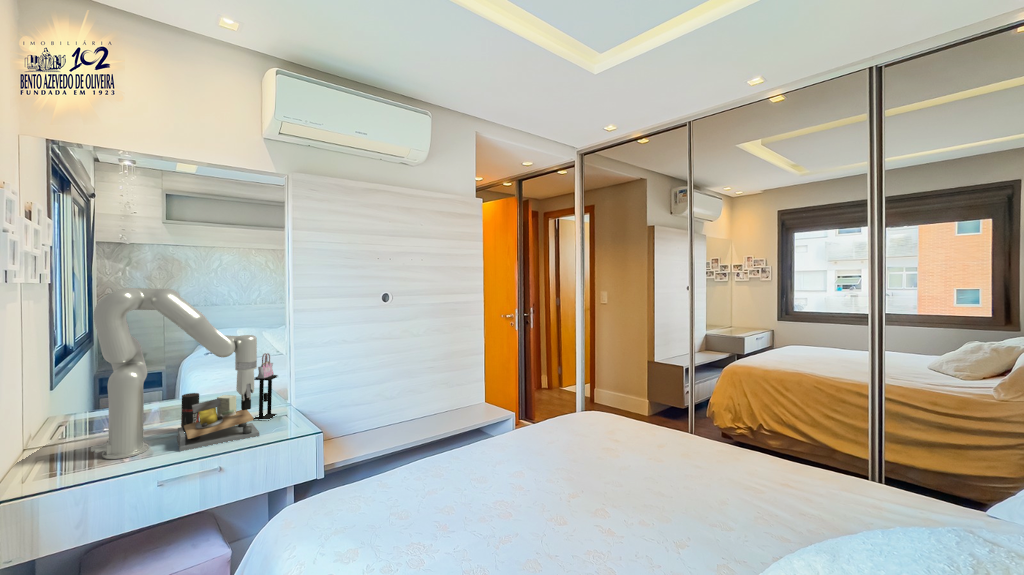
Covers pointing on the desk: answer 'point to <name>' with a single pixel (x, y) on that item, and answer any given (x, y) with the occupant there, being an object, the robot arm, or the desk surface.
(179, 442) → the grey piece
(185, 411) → the deodorant
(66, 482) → the desk surface
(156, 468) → the desk surface
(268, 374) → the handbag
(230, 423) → the level plate
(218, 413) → the skincare box
